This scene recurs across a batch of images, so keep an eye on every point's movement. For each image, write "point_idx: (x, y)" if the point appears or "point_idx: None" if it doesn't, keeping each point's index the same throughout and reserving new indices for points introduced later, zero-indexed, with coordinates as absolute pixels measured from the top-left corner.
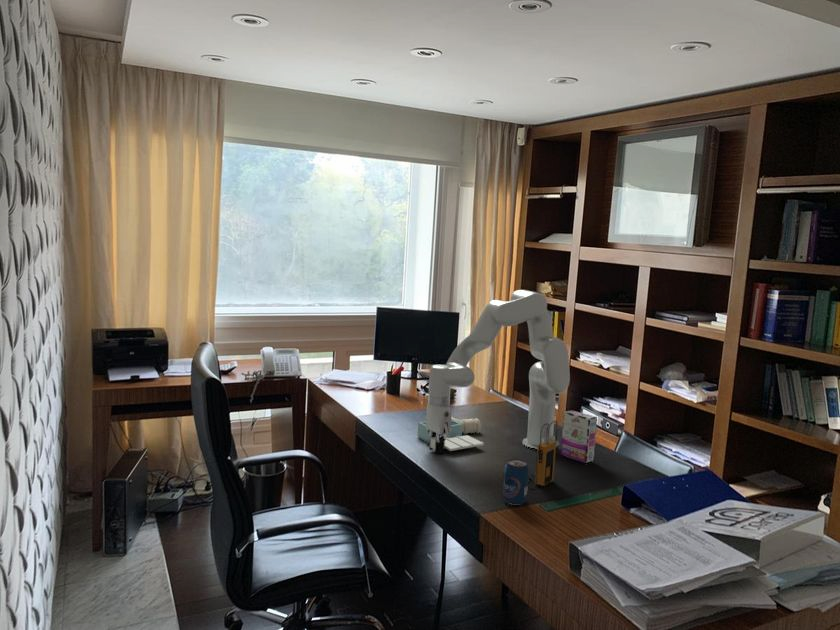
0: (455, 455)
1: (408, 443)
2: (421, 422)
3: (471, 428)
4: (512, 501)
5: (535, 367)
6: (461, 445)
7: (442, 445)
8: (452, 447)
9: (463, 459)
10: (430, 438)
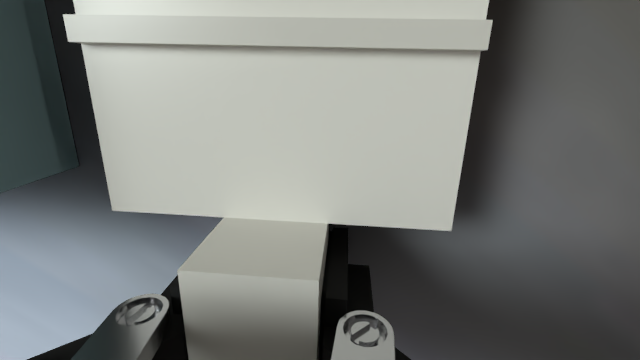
0: None
1: (8, 303)
2: None
3: None
4: None
5: None
6: (478, 32)
7: (371, 306)
8: (425, 177)
9: (591, 137)
10: (8, 183)
